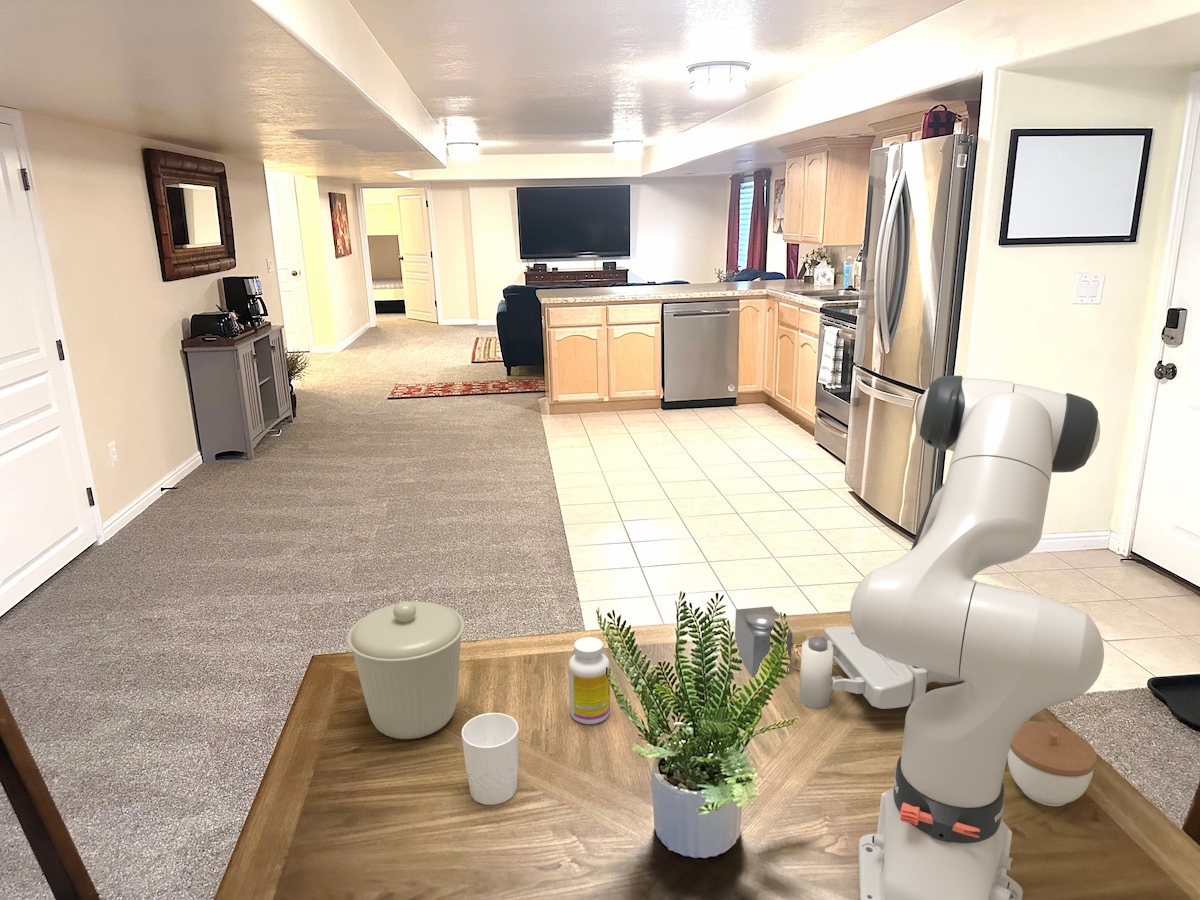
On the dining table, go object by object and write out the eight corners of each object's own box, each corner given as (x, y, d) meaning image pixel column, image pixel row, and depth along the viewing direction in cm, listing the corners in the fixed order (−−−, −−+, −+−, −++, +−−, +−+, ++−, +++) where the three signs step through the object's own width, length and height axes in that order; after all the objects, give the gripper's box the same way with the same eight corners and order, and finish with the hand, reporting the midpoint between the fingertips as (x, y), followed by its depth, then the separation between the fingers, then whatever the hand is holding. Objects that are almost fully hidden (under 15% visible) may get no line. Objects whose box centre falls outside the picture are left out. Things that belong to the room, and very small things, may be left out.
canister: (412, 770, 119) (400, 644, 113) (333, 729, 129) (318, 611, 123) (493, 709, 133) (486, 594, 127) (416, 677, 143) (406, 568, 137)
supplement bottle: (616, 720, 130) (615, 650, 126) (578, 730, 128) (576, 658, 124) (601, 698, 136) (600, 630, 132) (564, 707, 134) (562, 638, 130)
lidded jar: (1101, 822, 107) (1113, 763, 104) (1015, 814, 109) (1025, 755, 106) (1069, 769, 117) (1080, 714, 115) (991, 762, 119) (1000, 708, 116)
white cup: (532, 782, 116) (529, 722, 113) (498, 816, 110) (495, 754, 107) (489, 764, 120) (485, 706, 117) (454, 796, 114) (449, 736, 111)
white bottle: (825, 711, 132) (830, 652, 128) (795, 703, 134) (799, 645, 131) (832, 695, 136) (836, 637, 133) (802, 688, 138) (806, 631, 135)
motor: (824, 669, 144) (827, 624, 141) (752, 676, 142) (754, 631, 139) (796, 633, 156) (799, 591, 153) (729, 639, 154) (731, 597, 151)
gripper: (870, 614, 144) (796, 621, 142) (932, 676, 125) (848, 685, 123) (867, 645, 146) (794, 652, 144) (928, 711, 126) (845, 720, 124)
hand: (819, 668), depth 133 cm, fingers open, 8 cm apart
